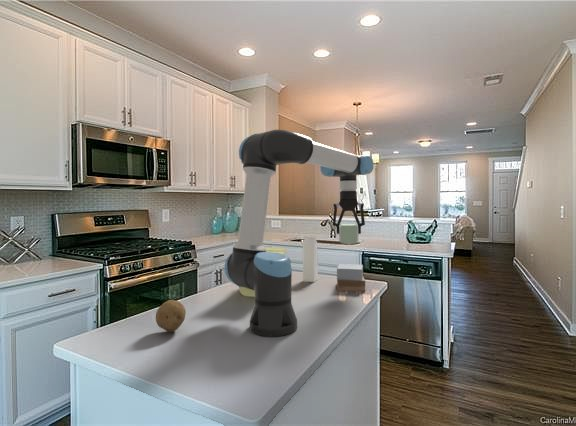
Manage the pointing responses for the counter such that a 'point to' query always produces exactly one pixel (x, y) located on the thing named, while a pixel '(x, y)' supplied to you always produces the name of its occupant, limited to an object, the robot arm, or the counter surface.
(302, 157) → the robot arm
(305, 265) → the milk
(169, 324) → the potato
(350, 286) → the tower base
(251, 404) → the counter surface
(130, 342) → the counter surface
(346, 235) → the sage block
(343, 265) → the tower top
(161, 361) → the counter surface
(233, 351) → the counter surface
